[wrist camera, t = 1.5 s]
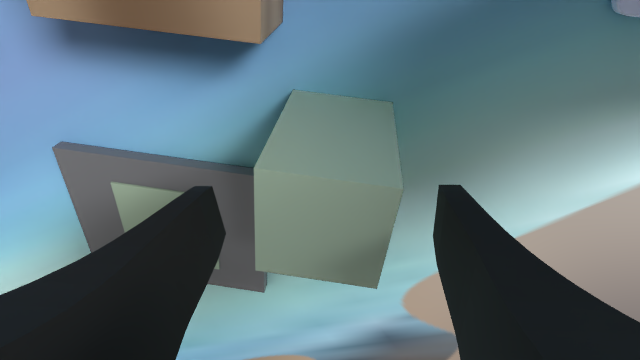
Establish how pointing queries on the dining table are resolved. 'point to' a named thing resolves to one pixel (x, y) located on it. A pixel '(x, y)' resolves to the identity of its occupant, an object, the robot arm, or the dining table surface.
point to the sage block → (328, 189)
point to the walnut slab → (173, 16)
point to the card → (161, 200)
